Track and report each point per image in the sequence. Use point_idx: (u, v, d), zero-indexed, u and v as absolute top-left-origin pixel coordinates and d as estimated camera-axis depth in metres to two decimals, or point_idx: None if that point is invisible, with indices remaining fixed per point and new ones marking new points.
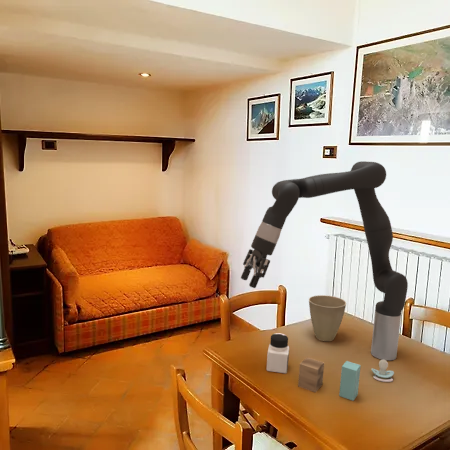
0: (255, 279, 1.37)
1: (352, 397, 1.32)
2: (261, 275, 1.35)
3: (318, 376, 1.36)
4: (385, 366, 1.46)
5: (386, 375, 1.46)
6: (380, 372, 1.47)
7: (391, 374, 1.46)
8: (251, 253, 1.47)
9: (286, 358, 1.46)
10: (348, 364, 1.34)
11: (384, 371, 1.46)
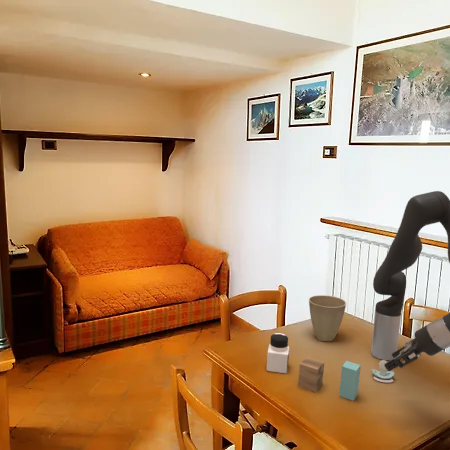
0: None
1: (352, 397, 1.32)
2: None
3: (318, 376, 1.36)
4: (385, 367, 1.45)
5: (386, 376, 1.46)
6: (380, 373, 1.46)
7: (391, 375, 1.45)
8: None
9: (286, 358, 1.46)
10: (348, 364, 1.34)
11: (384, 372, 1.46)
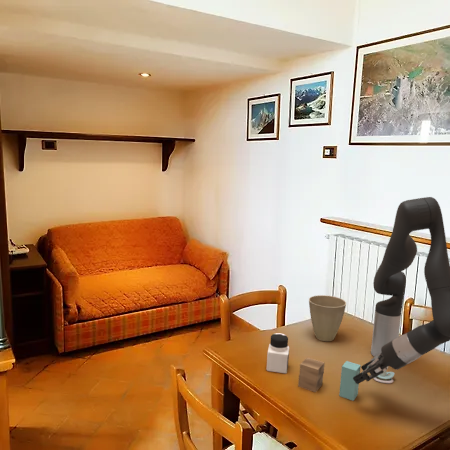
0: None
1: (352, 397, 1.32)
2: None
3: (318, 376, 1.36)
4: None
5: (386, 376, 1.45)
6: None
7: (391, 375, 1.45)
8: None
9: (286, 358, 1.46)
10: (348, 364, 1.34)
11: (384, 372, 1.45)
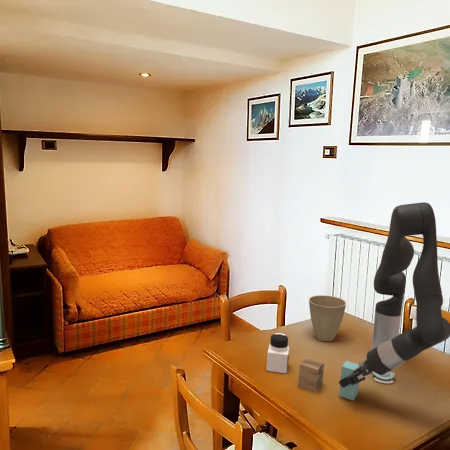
0: None
1: (352, 397, 1.32)
2: None
3: (318, 376, 1.36)
4: None
5: (387, 377, 1.45)
6: None
7: (392, 376, 1.44)
8: None
9: (286, 358, 1.46)
10: (348, 364, 1.34)
11: (385, 373, 1.45)
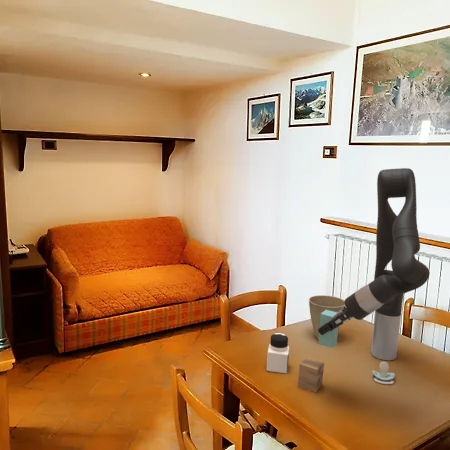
0: None
1: (331, 344, 1.32)
2: None
3: (318, 376, 1.36)
4: (386, 368, 1.45)
5: (387, 377, 1.45)
6: (381, 374, 1.45)
7: (392, 376, 1.44)
8: None
9: (286, 358, 1.46)
10: (326, 312, 1.34)
11: (385, 373, 1.45)
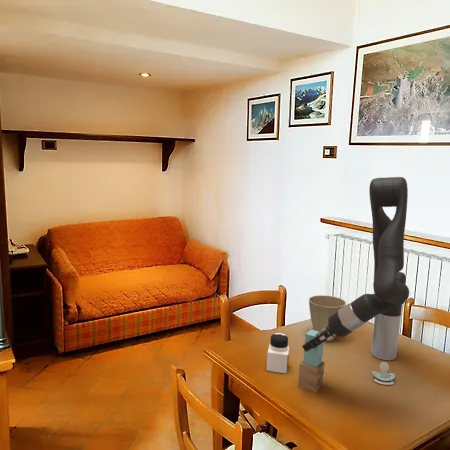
0: None
1: (315, 364, 1.35)
2: None
3: (318, 376, 1.36)
4: (386, 369, 1.44)
5: (387, 378, 1.44)
6: (381, 375, 1.45)
7: (392, 377, 1.44)
8: None
9: (286, 358, 1.46)
10: (312, 332, 1.37)
11: (385, 374, 1.44)
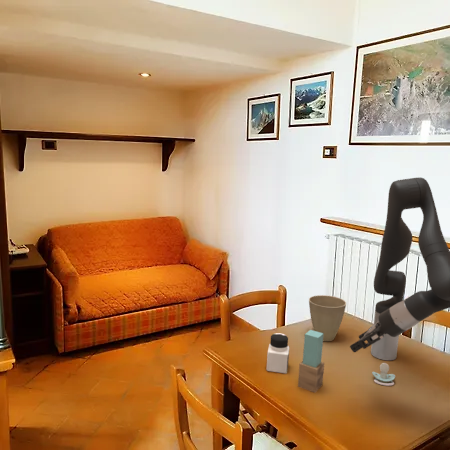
0: None
1: (314, 364, 1.35)
2: None
3: (318, 376, 1.36)
4: (386, 369, 1.44)
5: (387, 379, 1.44)
6: (381, 376, 1.44)
7: (392, 378, 1.43)
8: None
9: (286, 358, 1.46)
10: (311, 333, 1.37)
11: (385, 375, 1.44)
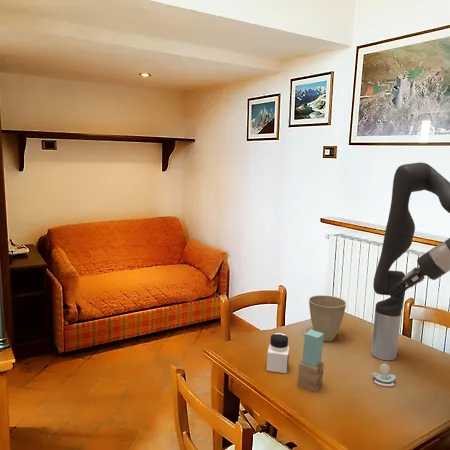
0: (405, 282, 1.32)
1: (314, 364, 1.35)
2: None
3: (317, 376, 1.36)
4: (386, 370, 1.43)
5: (387, 379, 1.43)
6: (381, 376, 1.44)
7: (392, 378, 1.43)
8: None
9: (286, 358, 1.46)
10: (311, 332, 1.37)
11: (385, 375, 1.43)
